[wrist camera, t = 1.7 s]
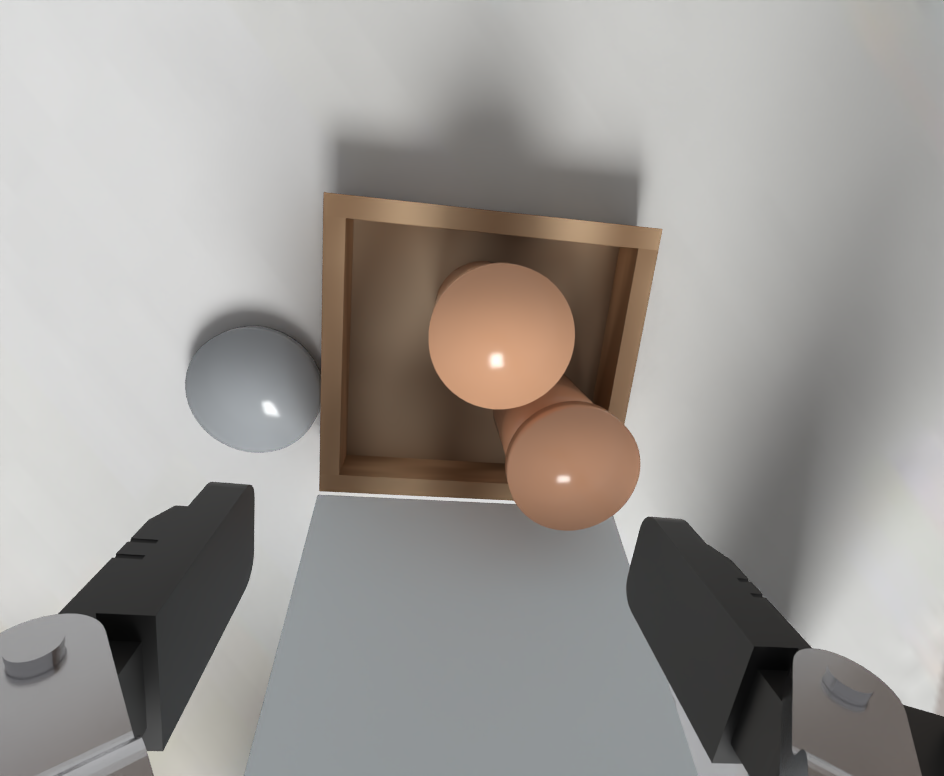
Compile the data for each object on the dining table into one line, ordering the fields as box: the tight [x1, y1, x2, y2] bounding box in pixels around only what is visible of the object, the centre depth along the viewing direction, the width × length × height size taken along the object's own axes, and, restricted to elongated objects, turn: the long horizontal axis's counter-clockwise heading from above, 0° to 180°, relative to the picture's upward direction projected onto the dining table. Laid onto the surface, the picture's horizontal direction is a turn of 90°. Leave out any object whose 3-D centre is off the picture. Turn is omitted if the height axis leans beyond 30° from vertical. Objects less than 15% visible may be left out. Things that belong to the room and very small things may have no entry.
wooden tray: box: [319, 192, 662, 501], centre depth 27 cm, size 16×15×3 cm
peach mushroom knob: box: [429, 261, 575, 409], centre depth 24 cm, size 6×6×8 cm
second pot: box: [493, 374, 640, 531], centre depth 26 cm, size 6×6×8 cm
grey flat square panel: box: [244, 495, 698, 776], centre depth 22 cm, size 16×15×1 cm
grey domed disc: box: [185, 326, 321, 453], centre depth 28 cm, size 7×7×1 cm
